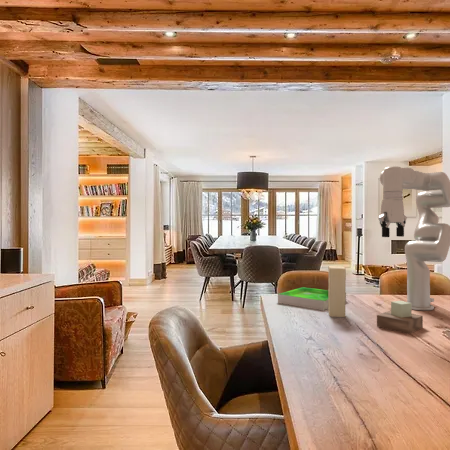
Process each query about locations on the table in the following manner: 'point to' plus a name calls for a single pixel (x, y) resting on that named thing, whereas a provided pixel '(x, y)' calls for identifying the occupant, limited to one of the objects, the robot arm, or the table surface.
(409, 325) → the walnut block
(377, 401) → the table surface
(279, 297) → the tray
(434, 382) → the table surface
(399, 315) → the cream cube
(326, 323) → the table surface
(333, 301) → the tall beige block
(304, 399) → the table surface
